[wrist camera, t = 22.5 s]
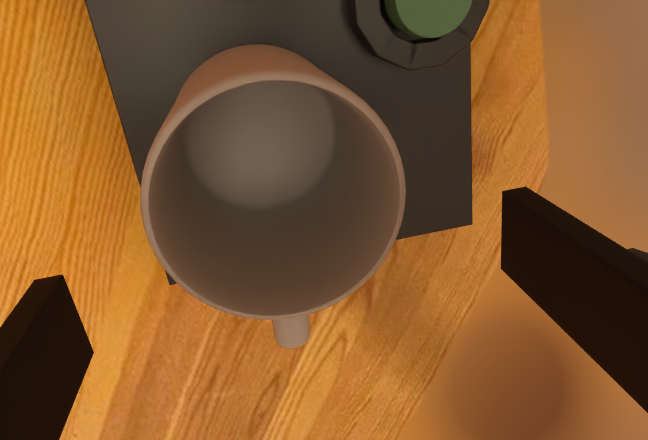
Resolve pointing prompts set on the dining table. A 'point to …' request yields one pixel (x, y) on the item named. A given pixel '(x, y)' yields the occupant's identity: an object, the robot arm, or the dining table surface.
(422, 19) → the button
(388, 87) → the scale
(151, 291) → the dining table surface
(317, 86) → the mug
